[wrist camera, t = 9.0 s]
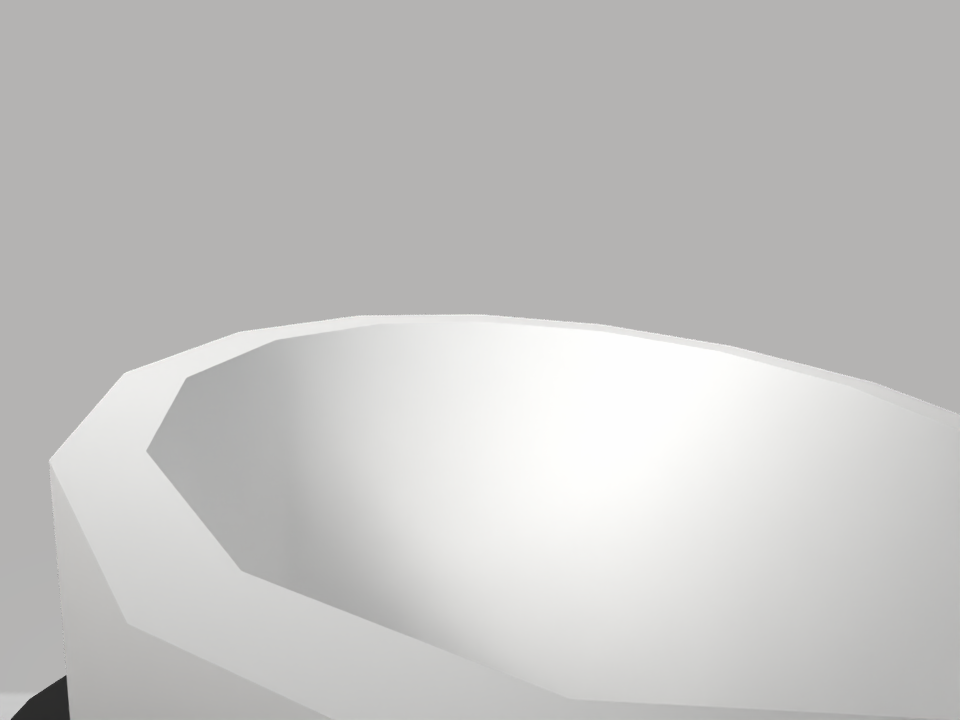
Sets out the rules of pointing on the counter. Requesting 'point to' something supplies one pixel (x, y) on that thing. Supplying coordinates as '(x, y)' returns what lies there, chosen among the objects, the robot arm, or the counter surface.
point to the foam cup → (506, 531)
